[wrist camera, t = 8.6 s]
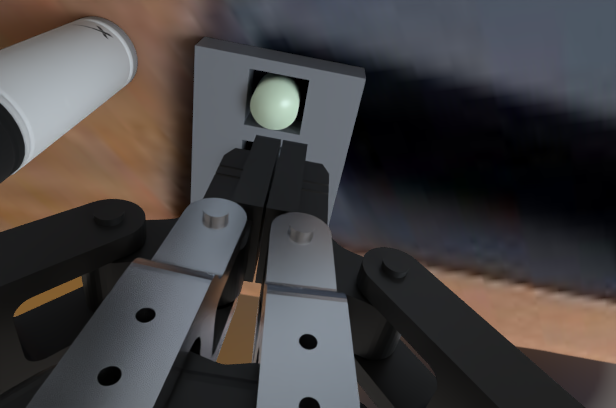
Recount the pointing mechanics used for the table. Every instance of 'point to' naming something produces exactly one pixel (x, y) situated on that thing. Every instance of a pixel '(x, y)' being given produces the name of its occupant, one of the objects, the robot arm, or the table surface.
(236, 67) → the button panel
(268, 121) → the sage button
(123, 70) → the travel mug
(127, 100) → the table surface
